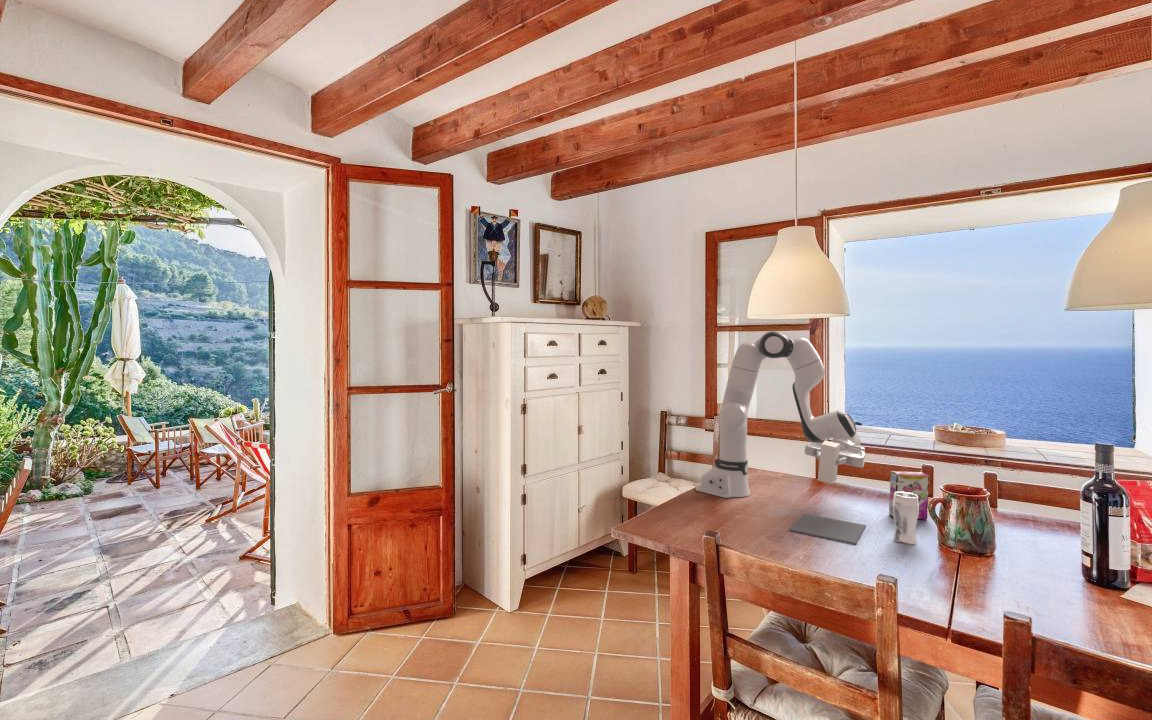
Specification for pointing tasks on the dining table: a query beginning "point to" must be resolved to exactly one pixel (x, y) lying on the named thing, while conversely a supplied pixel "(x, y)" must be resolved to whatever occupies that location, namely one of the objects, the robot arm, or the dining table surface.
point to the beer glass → (905, 517)
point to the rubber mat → (828, 528)
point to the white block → (828, 462)
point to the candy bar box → (910, 489)
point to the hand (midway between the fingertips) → (828, 460)
